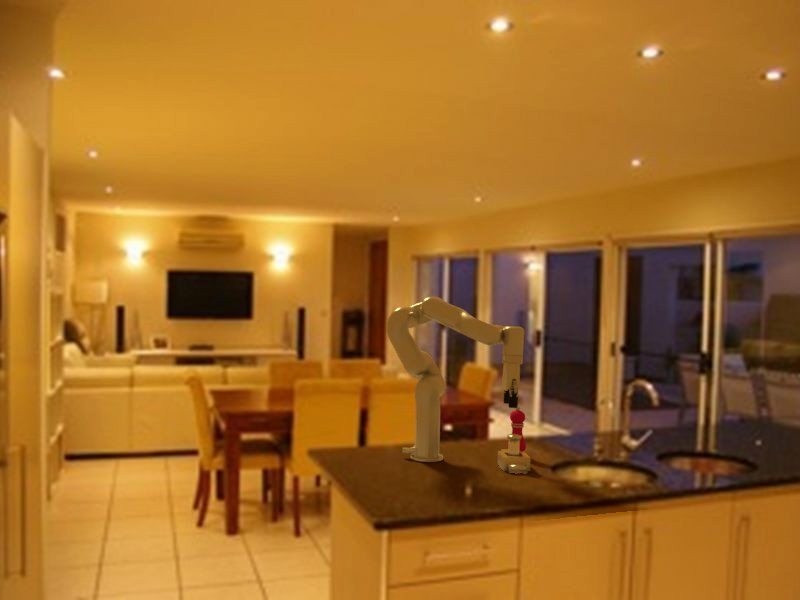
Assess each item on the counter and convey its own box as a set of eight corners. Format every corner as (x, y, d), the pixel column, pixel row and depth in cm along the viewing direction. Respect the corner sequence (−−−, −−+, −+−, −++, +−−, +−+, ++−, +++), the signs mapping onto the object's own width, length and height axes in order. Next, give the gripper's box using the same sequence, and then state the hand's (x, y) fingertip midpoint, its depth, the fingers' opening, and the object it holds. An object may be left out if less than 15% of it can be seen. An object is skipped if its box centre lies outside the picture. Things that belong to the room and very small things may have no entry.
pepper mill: (525, 459, 267) (527, 408, 267) (506, 458, 268) (508, 407, 268) (525, 455, 274) (527, 405, 274) (507, 454, 276) (509, 404, 275)
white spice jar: (507, 469, 251) (508, 436, 251) (504, 466, 256) (505, 433, 256) (521, 469, 251) (522, 437, 251) (518, 466, 256) (519, 434, 256)
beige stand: (504, 473, 245) (505, 459, 245) (495, 462, 262) (496, 449, 262) (532, 474, 245) (532, 460, 245) (521, 462, 262) (521, 449, 262)
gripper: (498, 357, 264) (496, 401, 264) (506, 361, 246) (504, 409, 247) (517, 357, 264) (515, 402, 264) (527, 362, 247) (525, 409, 247)
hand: (510, 405), depth 255 cm, fingers open, 9 cm apart
